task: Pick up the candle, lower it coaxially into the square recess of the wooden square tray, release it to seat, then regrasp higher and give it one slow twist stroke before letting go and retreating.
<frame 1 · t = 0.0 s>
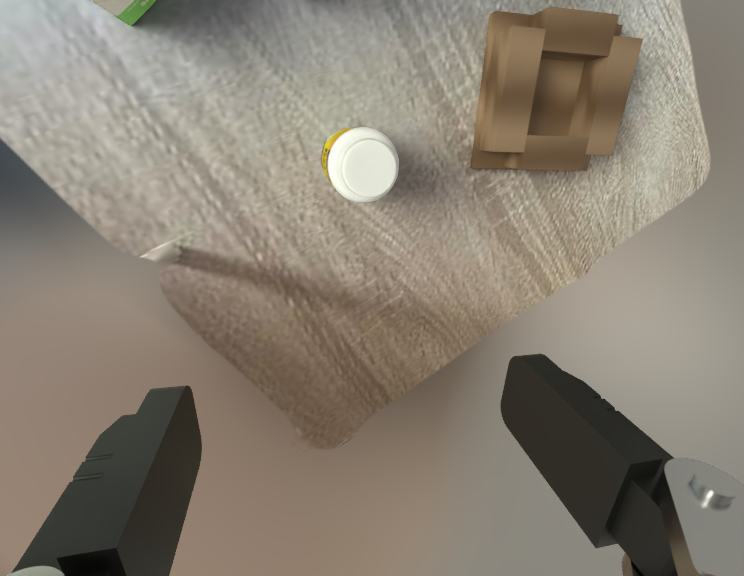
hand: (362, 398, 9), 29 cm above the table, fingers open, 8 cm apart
supplement bottle: (349, 159, 35), on the table
wooden square tray: (539, 100, 36), on the table
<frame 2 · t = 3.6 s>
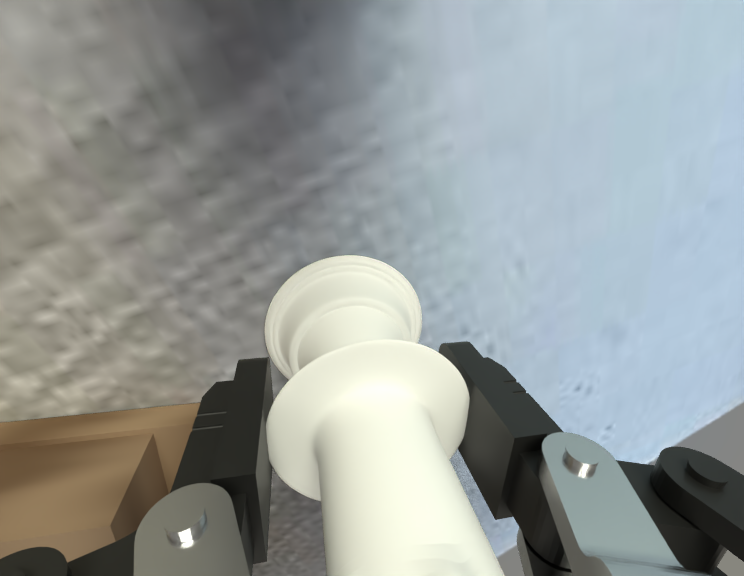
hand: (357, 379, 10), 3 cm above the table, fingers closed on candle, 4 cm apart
candle: (345, 325, 13), on the table, touching gripper
wooden square tray: (56, 557, 14), on the table
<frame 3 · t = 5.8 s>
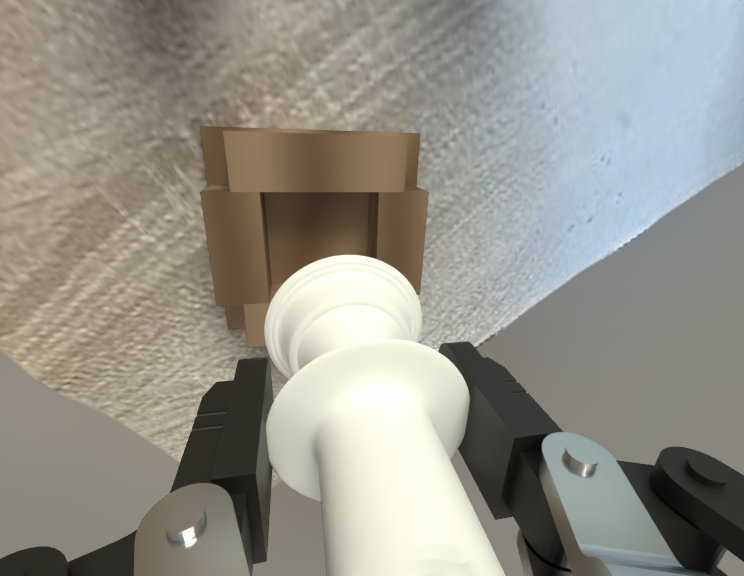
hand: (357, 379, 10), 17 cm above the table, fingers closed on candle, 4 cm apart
candle: (345, 325, 13), point 14 cm above the table, touching gripper
wooden square tray: (318, 232, 25), on the table
when the fingers open (5 cm above the table, at t = 8.0 s): candle drops 1 cm, resting on wooden square tray.
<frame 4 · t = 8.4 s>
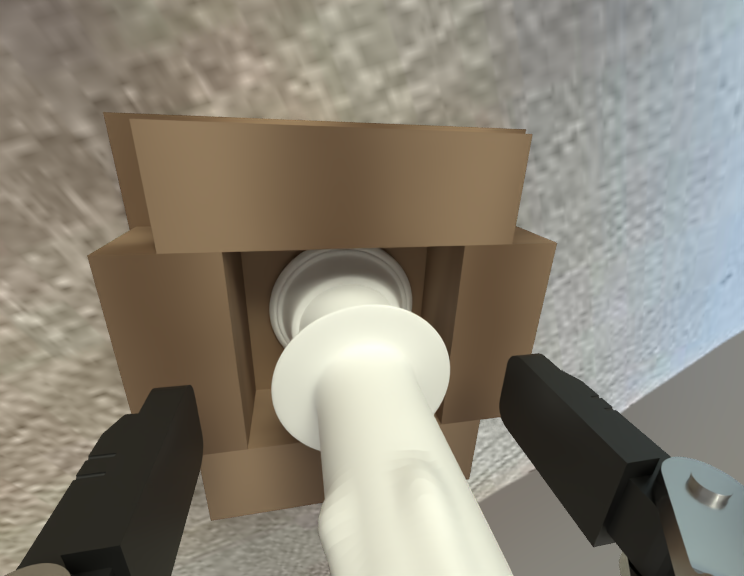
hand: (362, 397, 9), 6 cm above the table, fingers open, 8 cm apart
candle: (342, 305, 14), point 1 cm above the table, touching wooden square tray
wooden square tray: (336, 299, 15), on the table
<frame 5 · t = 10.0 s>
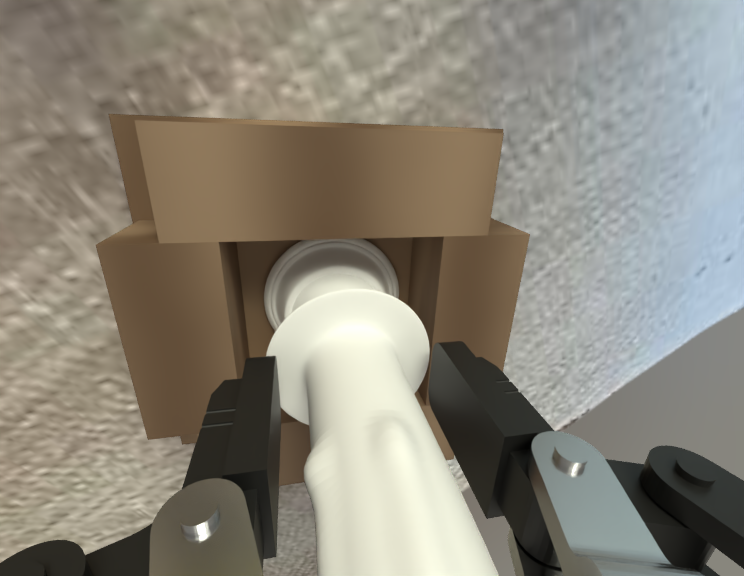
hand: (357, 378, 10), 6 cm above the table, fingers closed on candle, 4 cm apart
candle: (332, 295, 15), point 1 cm above the table, touching gripper, wooden square tray
wooden square tray: (327, 290, 16), on the table
when the fingers open (8 cm above the table, at t = 11.4 s): candle drops 1 cm, resting on wooden square tray.
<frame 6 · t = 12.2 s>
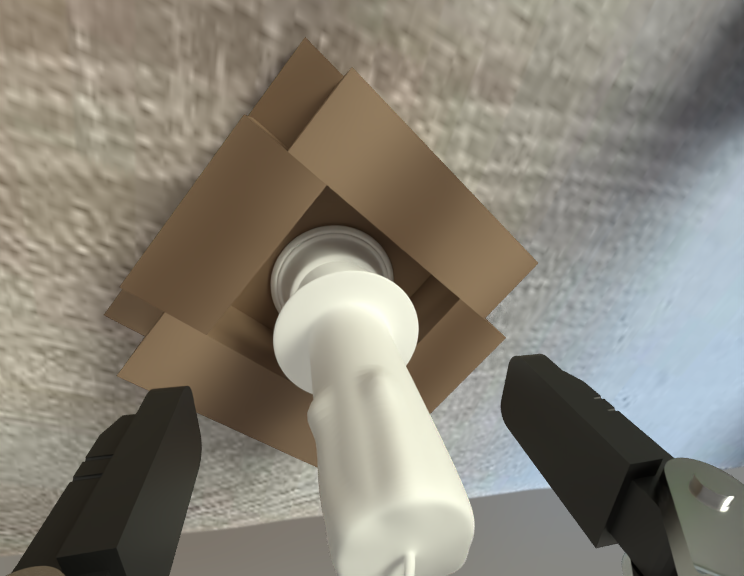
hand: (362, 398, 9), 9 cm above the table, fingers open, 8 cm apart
candle: (333, 282, 16), point 1 cm above the table, touching wooden square tray
wooden square tray: (330, 277, 17), on the table
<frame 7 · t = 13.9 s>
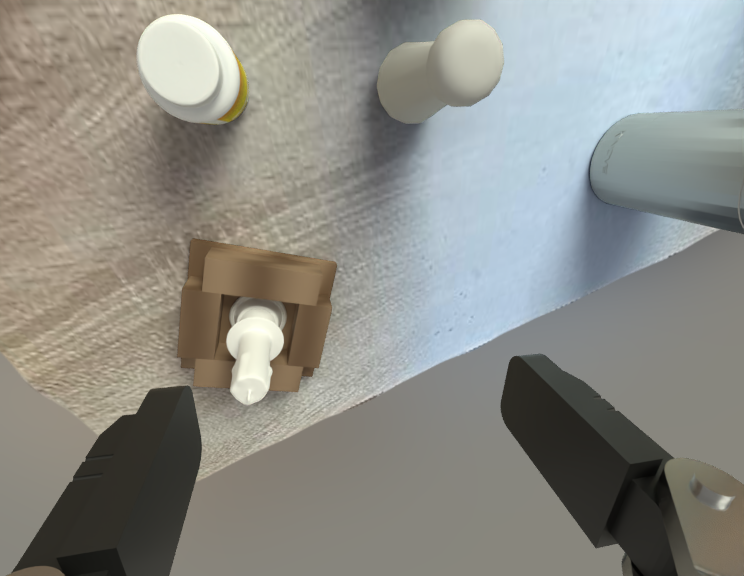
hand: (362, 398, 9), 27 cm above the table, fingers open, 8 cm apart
candle: (258, 315, 36), point 1 cm above the table, touching wooden square tray
supplement bottle: (212, 85, 29), on the table
salt shaker: (402, 87, 32), on the table
wooden square tray: (258, 312, 37), on the table
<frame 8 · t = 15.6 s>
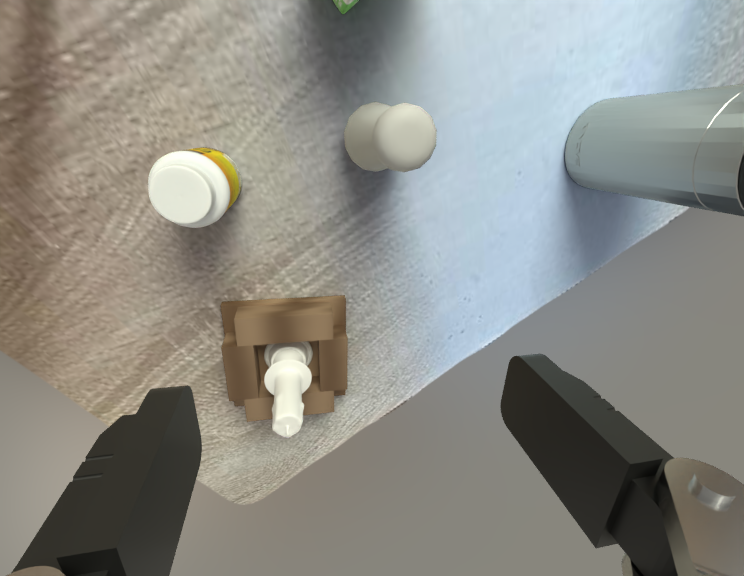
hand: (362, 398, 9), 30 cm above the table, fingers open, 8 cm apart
candle: (288, 352, 42), point 1 cm above the table, touching wooden square tray
supplement bottle: (211, 178, 34), on the table
salt shaker: (370, 137, 35), on the table
wooden square tray: (288, 349, 42), on the table
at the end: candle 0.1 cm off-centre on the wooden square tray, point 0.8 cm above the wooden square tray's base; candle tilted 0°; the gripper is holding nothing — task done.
